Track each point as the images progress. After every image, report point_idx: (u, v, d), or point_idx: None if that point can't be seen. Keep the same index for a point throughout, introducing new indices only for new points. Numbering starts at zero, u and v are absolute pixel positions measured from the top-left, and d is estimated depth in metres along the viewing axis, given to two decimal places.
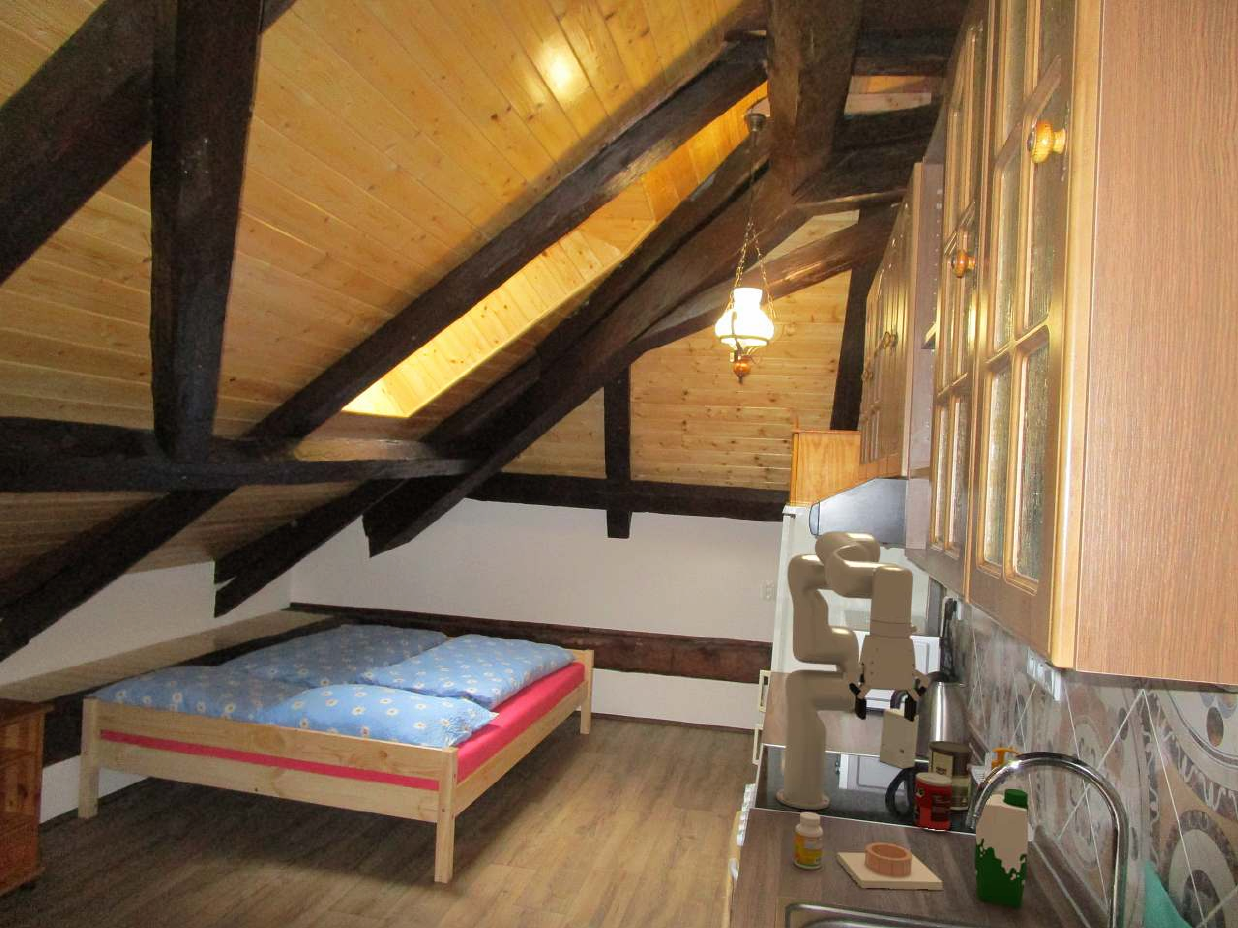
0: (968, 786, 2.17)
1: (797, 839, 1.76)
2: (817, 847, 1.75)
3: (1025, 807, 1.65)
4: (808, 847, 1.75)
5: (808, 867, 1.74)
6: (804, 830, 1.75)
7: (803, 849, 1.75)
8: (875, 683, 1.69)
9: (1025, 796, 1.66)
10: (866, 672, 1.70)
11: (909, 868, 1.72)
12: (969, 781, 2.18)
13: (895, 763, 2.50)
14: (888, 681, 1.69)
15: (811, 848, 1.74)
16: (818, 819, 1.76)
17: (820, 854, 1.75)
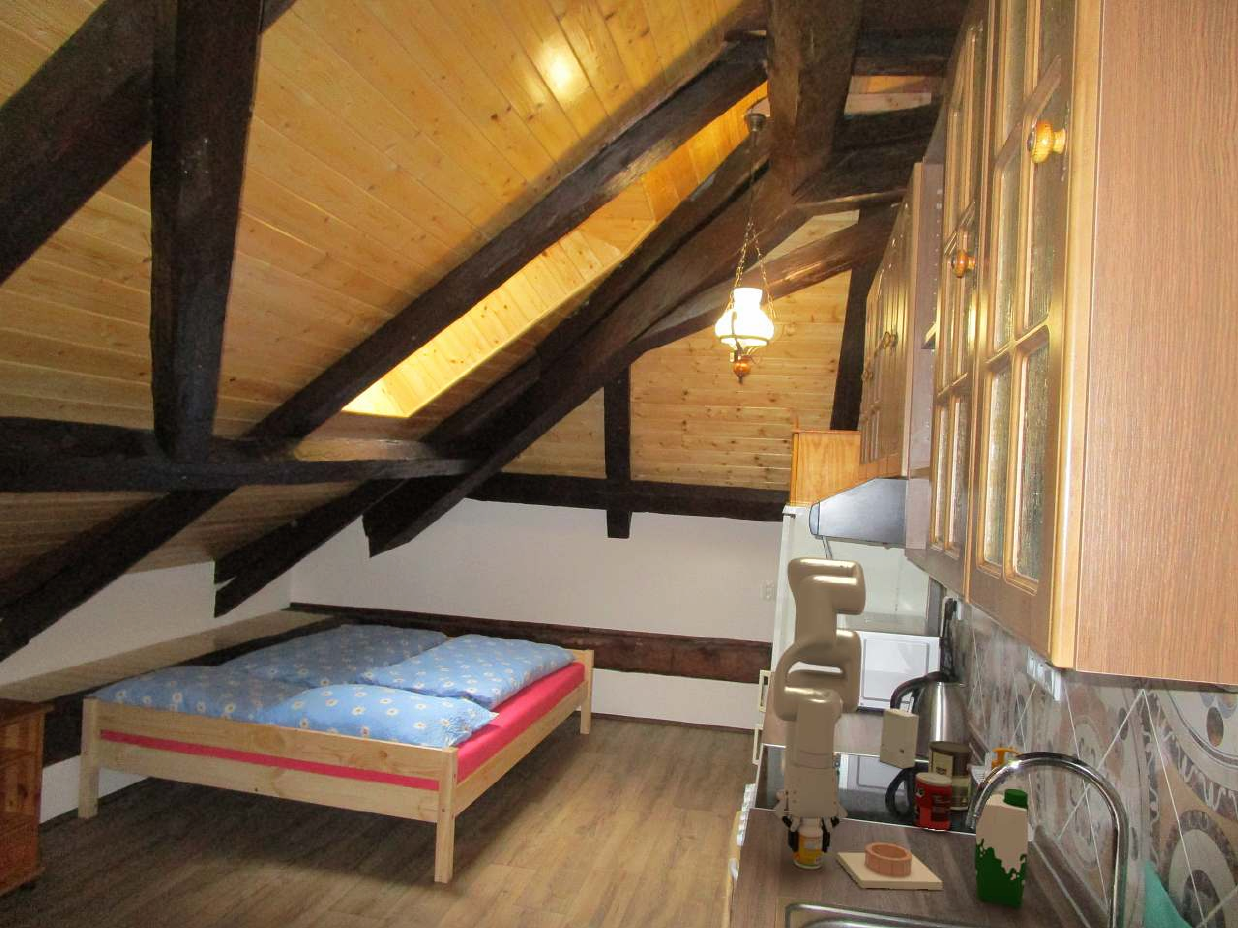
0: (968, 786, 2.17)
1: None
2: (817, 847, 1.75)
3: (1025, 807, 1.65)
4: (808, 847, 1.75)
5: (808, 866, 1.74)
6: (804, 830, 1.75)
7: (803, 849, 1.75)
8: (798, 811, 1.75)
9: (1025, 796, 1.66)
10: (789, 801, 1.75)
11: (909, 868, 1.72)
12: (969, 781, 2.18)
13: (895, 763, 2.50)
14: (810, 809, 1.75)
15: (811, 848, 1.74)
16: (819, 819, 1.76)
17: (820, 854, 1.75)
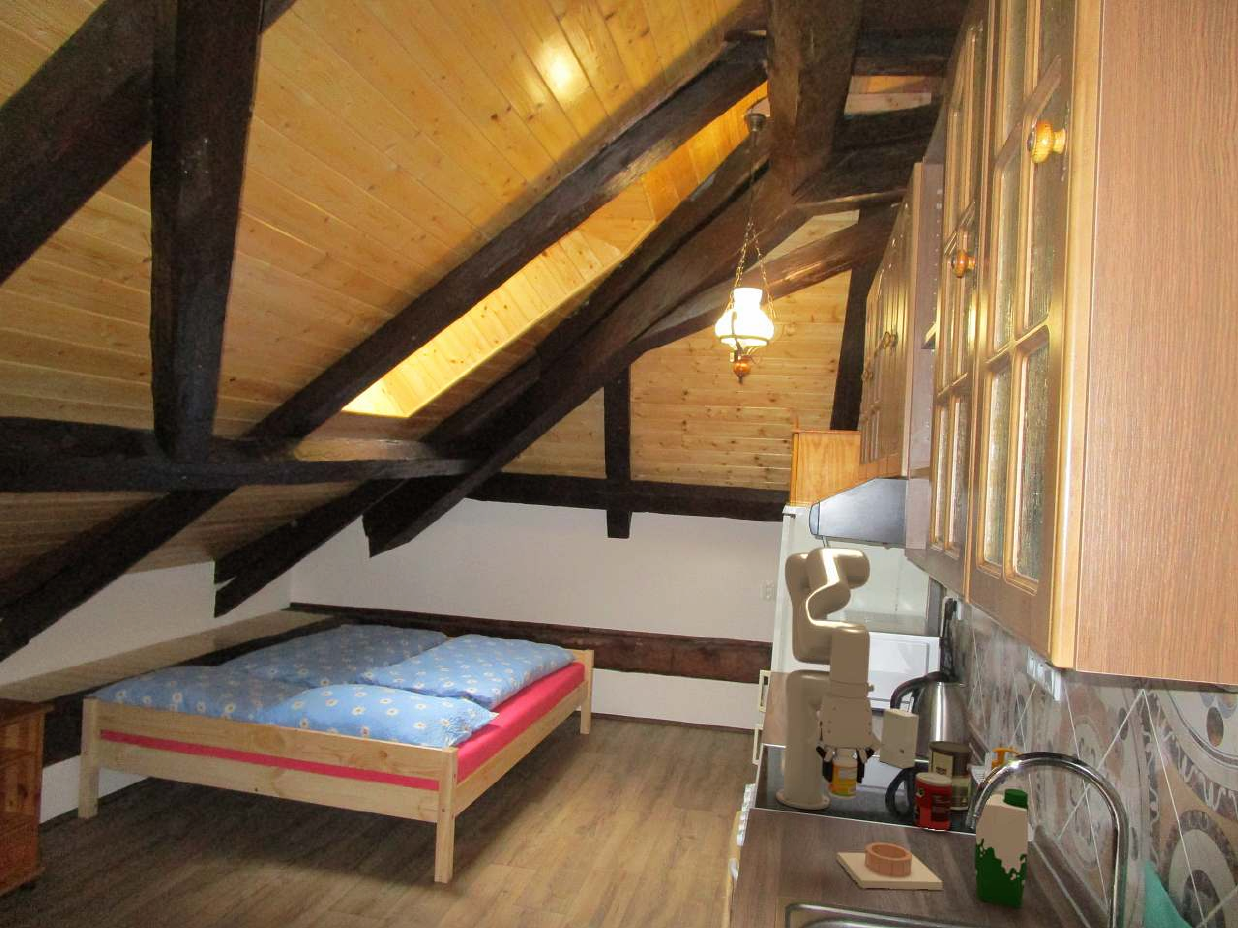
0: (968, 786, 2.17)
1: None
2: (851, 777, 1.74)
3: (1025, 807, 1.65)
4: (842, 777, 1.74)
5: (842, 796, 1.74)
6: (838, 760, 1.75)
7: (837, 779, 1.75)
8: (832, 741, 1.75)
9: (1025, 796, 1.66)
10: (823, 731, 1.75)
11: (909, 868, 1.72)
12: (969, 781, 2.18)
13: (895, 763, 2.50)
14: (845, 739, 1.75)
15: (846, 778, 1.74)
16: (853, 750, 1.76)
17: (854, 784, 1.75)
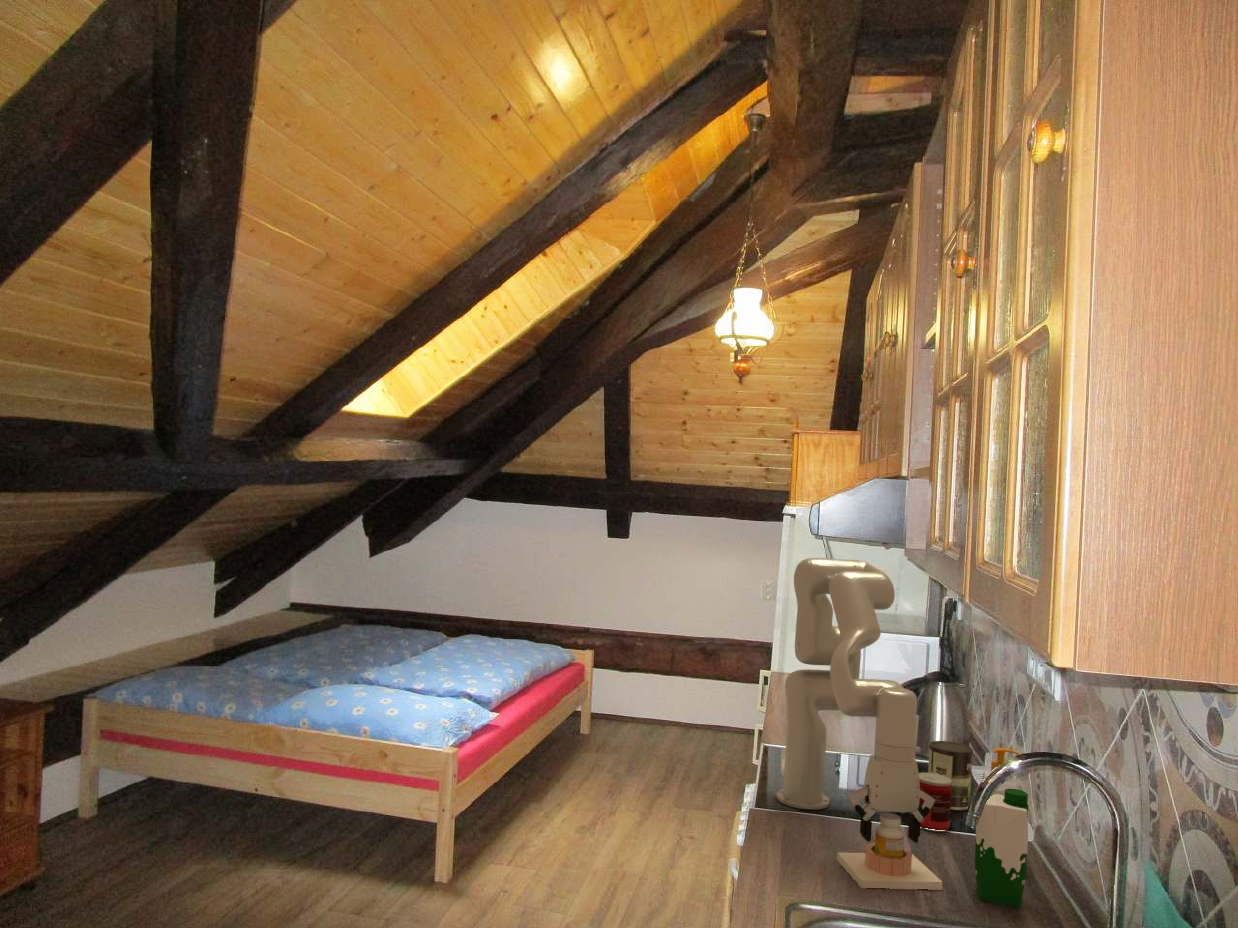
0: (968, 786, 2.17)
1: (878, 840, 1.74)
2: (899, 849, 1.73)
3: (1025, 807, 1.65)
4: (890, 849, 1.72)
5: None
6: (885, 831, 1.73)
7: (884, 850, 1.73)
8: (880, 805, 1.73)
9: (1025, 796, 1.66)
10: (871, 795, 1.73)
11: (909, 868, 1.72)
12: (969, 781, 2.18)
13: None
14: (893, 803, 1.73)
15: (893, 849, 1.72)
16: (900, 821, 1.74)
17: (901, 856, 1.73)
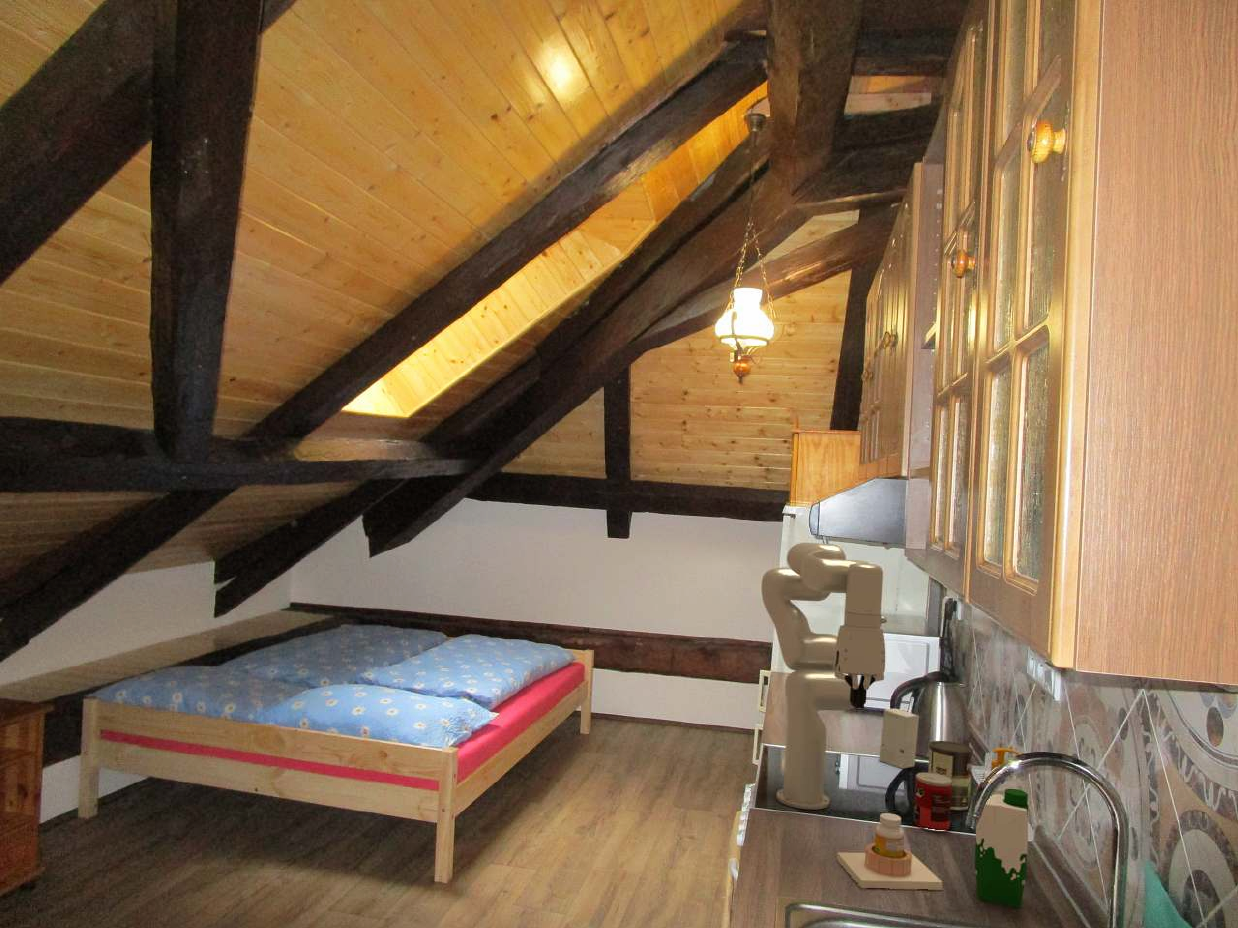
0: (968, 786, 2.17)
1: (878, 841, 1.74)
2: (899, 849, 1.73)
3: (1025, 807, 1.65)
4: (890, 849, 1.72)
5: None
6: (885, 831, 1.73)
7: (884, 851, 1.73)
8: (848, 668, 1.88)
9: (1025, 796, 1.66)
10: (840, 659, 1.89)
11: (909, 868, 1.72)
12: (969, 781, 2.18)
13: (895, 763, 2.50)
14: (860, 667, 1.88)
15: (893, 849, 1.72)
16: (900, 821, 1.74)
17: (901, 856, 1.73)
